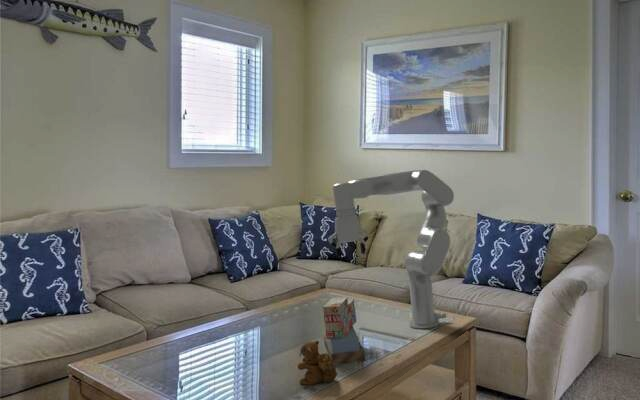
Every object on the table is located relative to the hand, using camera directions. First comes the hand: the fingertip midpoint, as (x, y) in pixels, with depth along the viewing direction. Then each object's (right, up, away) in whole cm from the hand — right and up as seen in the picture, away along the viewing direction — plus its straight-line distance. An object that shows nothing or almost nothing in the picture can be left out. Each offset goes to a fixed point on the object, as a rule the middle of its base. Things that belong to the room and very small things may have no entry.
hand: (351, 255), depth 229 cm
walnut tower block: (-3, -37, -11) cm, 38 cm away
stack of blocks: (-4, -28, -10) cm, 30 cm away
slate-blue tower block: (-4, -32, -11) cm, 34 cm away
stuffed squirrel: (-13, -39, -37) cm, 55 cm away
